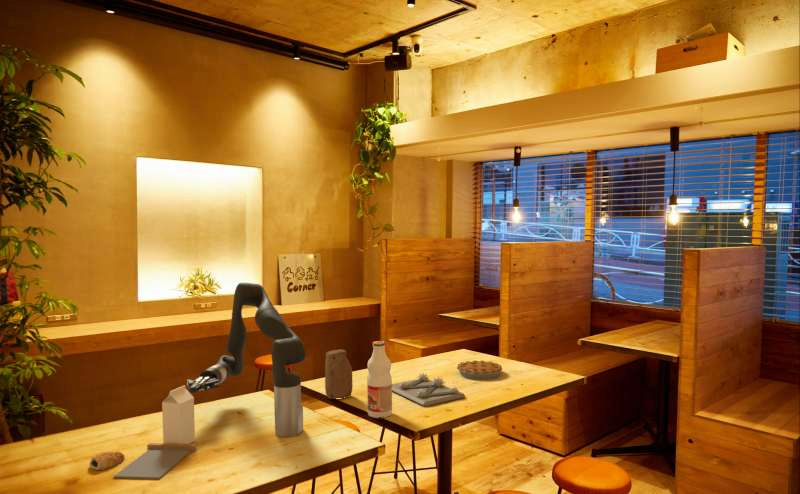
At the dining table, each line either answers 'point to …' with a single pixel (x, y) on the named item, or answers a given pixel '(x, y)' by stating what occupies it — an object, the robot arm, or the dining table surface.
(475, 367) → the pie
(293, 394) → the robot arm
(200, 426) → the dining table surface
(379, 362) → the fruit juice
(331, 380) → the block
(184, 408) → the milk carton
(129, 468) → the grey flat board
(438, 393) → the decorative plate
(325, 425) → the dining table surface
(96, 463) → the pastry
